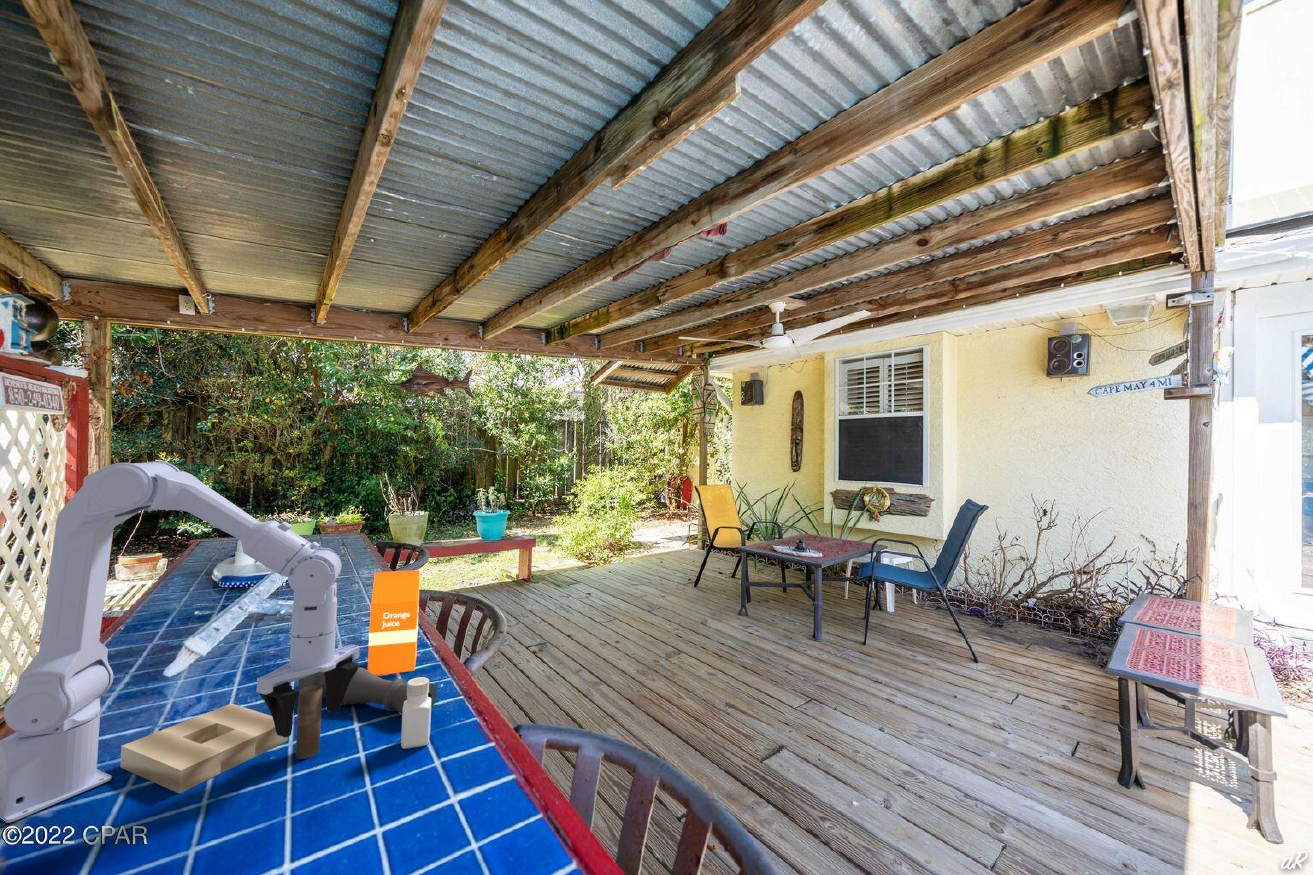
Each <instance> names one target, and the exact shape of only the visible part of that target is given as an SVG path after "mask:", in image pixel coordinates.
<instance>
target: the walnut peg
mask: <svg viewBox="0 0 1313 875" xmlns="http://www.w3.org/2000/svg"><path fill="white" fill-rule="evenodd" d="M322 688H323V687H322V686H320V685H312V686H307V687H304V688H302V689H300V690H298V691H299V694H298V697H297V699H298V702H297V704H298V705H297V719H296V720H297V721H296V722H297V723H296V740H295V743H296V744H295V758H296V759H298V760H305V759H306V760H307V759H310V758H312V757H313V758H314V757H315V756H316V755H318V754H319V753H320V747H321V746H320V743H321V728H322V727H321V726H322V724H321V723H322V707H323V706H322V705H323V704H322V703H323V698H322Z"/></svg>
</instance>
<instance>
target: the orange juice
mask: <svg viewBox="0 0 1313 875" xmlns="http://www.w3.org/2000/svg"><path fill="white" fill-rule="evenodd" d="M419 602H420V570H417V569H416V570H414V569H413V570H398V571H397V570H395V571H394V570H393V571H379V572H378V571H374V578H373V586H372V595H371V602H370V613H369V614H370V615H369V631H368V632H369V633H368V656H367V657H368V658H367V670H368V671H369V672H371V673H373V674H374V675H376V676H377V675H378V676H379V675H389V674H396V673H405V672H412V671H413V672H414V671H415V670H416V663H417V662H416V661H417V655H418V654H417V652H418V648H417V647H418V630H419V611H420V610H419V607H420V606H419V605H420V603H419Z"/></svg>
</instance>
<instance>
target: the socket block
mask: <svg viewBox="0 0 1313 875" xmlns="http://www.w3.org/2000/svg"><path fill="white" fill-rule="evenodd" d="M288 738H289V736H288V737H282V736H279V735H277V733H276V728H275V724H274V721H273V717H272V715H269V714H266V713H263V712H261V711H257V710H254V709H250V708H248V707H244V706H241V705H238V704H236V703H235V704H234V703H232V702H231V703H228V704H227V705H223V706H222V707H219V708H216V709H214V710H211V711H209V712H206V713H204V714H201V715H198V716H195V717H193V718H190V719H188V720H185V721H183V722H180V723H177V724H174V725H172V726H169V727H166V728H164V729H162V730H159V731H156V732H154V733H151V734H148V735H145V736H143V737H141V738H138V739H136V740H133V741H131V742H128V743H125V744H123V745H121V748H120V749H121V750H120V765H119V766H120V768H121V769H123V770H125V771H128V772H130V773H132V774H135V775H137V776H138V777H141V778H143V779H146V780H148V781H150V782H153V783H154V784H157V785H159V786H161V787H164V788H166V789H168V790H171V791H172V792H174V793H177V794H181V793H184V792H186V791H189V790H190V789H191V788H194V787H196V786H198V785H200V784H203V783H205V782H206V781H209V780H211V779H212V778H214V777H217V776H218V775H220V774H222V773H225V772H227V771H229V770H231V769H232V768H235V767H237V766H239V765H241V764H243V763H245V762H247V761H250V760H251V759H254V758H256V757H258V756H259V755H261V754H264V753H265V752H267V751H269V750H272V749H274V748H276V747H279V746H280V745H282V744H285V743H286V742H288Z"/></svg>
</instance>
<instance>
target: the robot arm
mask: <svg viewBox="0 0 1313 875" xmlns="http://www.w3.org/2000/svg"><path fill="white" fill-rule="evenodd" d="M148 509H149V510H155V511H158V510H159V511H163V510H164V511H184V512H188V514H190V515H193V516H195V517H196V518H199V519H201V520H202V521H204V522H205V523H208V524H210V525H211V526H214V527H215V528H217V529H219V530H221V531H223V532H224V533H227V534H229V535H230V536H232V537H234V538H236V539H237V540H240V542H241V548H242V552H243V554H244V555H246V556H248V557H250V558H252V559H253V560H254V561H256V562H257V563H259V564H261V565H263V566H265V567H267V568H268V569H269V570H272V571H274V572H275V573H276V574H279V575H280V576H282V577H285V578H287V582H288V585H289V587H290V589H292V591H293V603H292V606H291V608H292V610H291V625H290V630H291V631H290V632H291V633H290V648H289V649H290V651H289V662H287V663H285V664H283V665H281V666H280V667H278V668H277V669H274V670H273V671H271V672H268V673H267V674H265V675H263V676H260V677H257V679H256V693H258V694H259V695H260V697H261V698H262V700H263V701H264V703H265V705H266V706H267V708H268V710H269V712H270V714H271V715H270V716H272V717H273V721H274V724H275V728H276V733H277V735H279V736H282V737H288V738H289V737H290V736H291V735H292V732H293V731H292V730H293V724H294V723H293V722H294V711H295V707H296V702H297V699H298V698H299V690H297V689H293V685H290V684H291V683H294V682H296V681H297V682H298V681H299V679H302V678H304V677H307V676H309V675H312V674H314V673H317V672H324V675H325V681H326V698H325V708H326V711H327V712H329V713H333V714H338V713H340V711H341V707H342V706H343V705H342V704H343V703H342V702H343V699H344V695H345V693H346V690H347V688H348V685H349V683H350V681H351V680H352V678H353V676H354V674H355V673H356V672H357V670H358V668H359V663H358V662H355V660H358V659H359V658H360V646H359V645H355V644H348V645H345V646H341V647H337V648H336V636H337V635H336V632H337V610H338V598H337V593H338V586H337V584H338V583H337V581H336V579H337V578H338V577H339V576H340V574H341V571H342V560H341V558H340V556H339V555H338V554H337V553H336V552H335V551H334V550H333V549H332V548H328V547H320V546H321V544H320V543H318V542H317V541H313V542H310V541H309V540H307V539H306V538H304V537H303V536H301V535H299V534H298V533H296V532H294V531H292V530H291V528H292V527H293V525H292V524H290V523H288V522H287V521H283V522H281V523H279V522H278V521H277V520H267V521H259V520H258V519H256V518H255V517H253V516H252V515H251V514H249V513H247V512H246V511H245V510H243V509H242V508H240V507H238V506H237V505H236V504H234V503H233V502H232V501H230V500H228V499H227V498H225V497H224V496H222V495H221V494H219V493H218V492H217V491H215V490H214V489H212V488H210V487H209V486H208V485H207V484H205V483H204V482H202V481H201V480H199V479H198V478H197V477H196V476H194V474H191V473H189V472H187V471H183V470H180V469H179V468H178V467H177V466H175V465H173V464H172V463H169V462H166V461H160V460H157V461H156V460H155V461H153V460H152V461H148V462H136V463H135V462H134V463H131V462H116V463H112V464H109V465H107V466H104V467H102V468H100V469H98V470H96V471H95V472H92V473H90V474H88V475H86V476H84V478H83V484H82V486H81V487H80V489H79V490H78V491H77V492H75V494H74V495H73V496H72V497H71V498H70V499H69V501H67V503H66V504H65V505H64V506H63V507H62V508H61V510H60V511H59V512H58V514H57V517H56V522H55V528H54V529H55V530H54V536H53V544H52V552H51V559H50V566H49V574H48V580H47V589H46V594H45V596H46V597H45V603H44V611H43V618H42V626H41V636H40V641H39V642H40V643H39V649H38V652H37V654H36V655H35V656H34V657H33V658H32V659H31V661H30V662H29V663H28V665H27V666H26V667H25V668H24V670H23V671H22V672H21V673H20V675H19V677H18V682H17V688H16V690H15V692H14V693H13V695H11V697H10V698H9V699H8V701H7V703H5V706H4V708H3V709H4V711H3V718H4V721H5V723H6V725H7V727H9V728H10V729H11V730H12V731H14V733H12V734H10V735H8V736H7V737H3V738H2V739H0V818H1V819H3V820H4V821H5V822H4V821H3V822H4V823H6V824H9V823H10V824H11V823H12V822H13V823H14V822H15V821H18V820H20V819H23V818H25V817H28V816H30V815H32V814H35V813H37V812H40V811H41V810H44V809H46V808H49V807H51V806H53V805H56V804H58V803H60V802H62V801H63V802H64V801H65V800H68V799H70V798H72V797H75V796H77V795H79V794H82V793H84V792H86V791H89V790H92V789H93V788H95V787H98V786H100V785H102V784H105V783H107V782H110V781H111V780H112V778H113V776H112V775H111V774H109V773H106V772H104V771H102V770H101V769H98V756H99V755H98V754H99V753H98V752H99V740H100V738H99V737H100V736H99V735H100V723H101V697H103V696H104V695H105V694H106V693H107V692H108V691H109V690H110V688H111V686H112V685H113V682H114V672H113V669H112V667H111V666H110V664H109V662H108V660H109V659H108V654H109V648H107V647H106V646H105V645H104V644H103V643H102V642H101V641H100V637H101V629H102V622H103V621H102V620H103V616H104V615H103V614H104V605H105V600H106V599H105V598H106V590H107V583H108V582H107V581H108V575H109V569H110V568H109V567H110V559H111V552H112V543H113V535H114V528H116V526H119V525H120V524H122V523H123V522H125V521H127V520H128V519H130V518H132V517H133V516H135V515H137V514H139V512H142V511H145V510H148ZM1 819H0V820H1Z"/></svg>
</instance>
